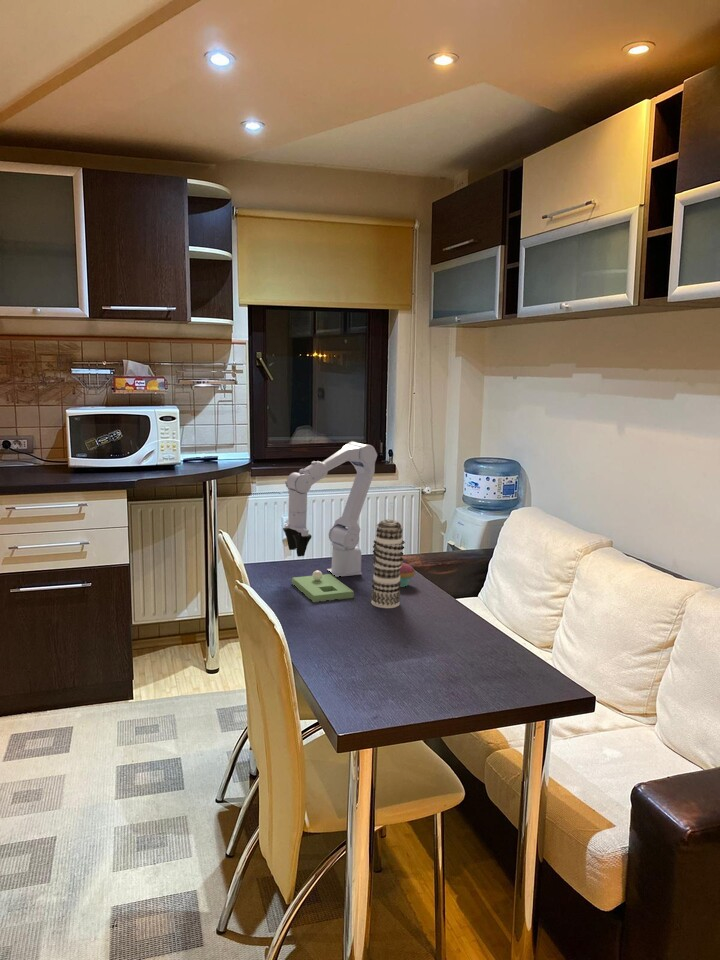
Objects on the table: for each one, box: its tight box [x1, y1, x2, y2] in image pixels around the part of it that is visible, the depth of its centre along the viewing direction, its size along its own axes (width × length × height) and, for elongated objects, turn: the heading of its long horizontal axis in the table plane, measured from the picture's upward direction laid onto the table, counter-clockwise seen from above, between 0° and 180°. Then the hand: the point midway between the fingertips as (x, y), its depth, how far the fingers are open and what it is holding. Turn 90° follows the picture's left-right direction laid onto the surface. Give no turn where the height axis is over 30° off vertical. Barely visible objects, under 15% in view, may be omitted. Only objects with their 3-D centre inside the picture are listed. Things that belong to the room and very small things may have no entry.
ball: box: [311, 570, 324, 581], centre depth 225 cm, size 3×3×3 cm
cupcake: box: [400, 561, 416, 588], centre depth 231 cm, size 9×8×12 cm
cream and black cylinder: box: [370, 519, 406, 609], centre depth 212 cm, size 9×9×25 cm
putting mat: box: [291, 573, 354, 603], centre depth 222 cm, size 13×18×2 cm
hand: (296, 552), depth 228 cm, fingers open, 7 cm apart
